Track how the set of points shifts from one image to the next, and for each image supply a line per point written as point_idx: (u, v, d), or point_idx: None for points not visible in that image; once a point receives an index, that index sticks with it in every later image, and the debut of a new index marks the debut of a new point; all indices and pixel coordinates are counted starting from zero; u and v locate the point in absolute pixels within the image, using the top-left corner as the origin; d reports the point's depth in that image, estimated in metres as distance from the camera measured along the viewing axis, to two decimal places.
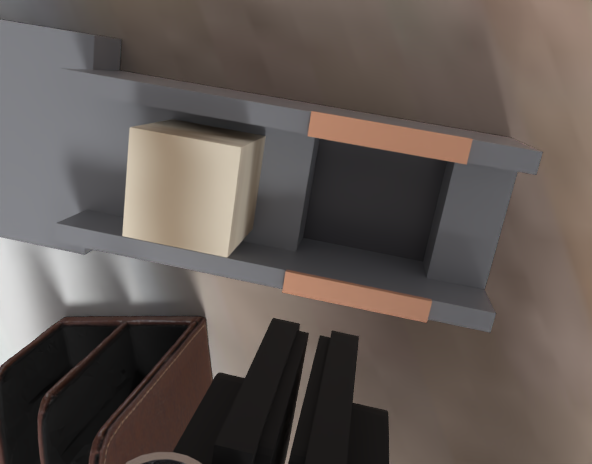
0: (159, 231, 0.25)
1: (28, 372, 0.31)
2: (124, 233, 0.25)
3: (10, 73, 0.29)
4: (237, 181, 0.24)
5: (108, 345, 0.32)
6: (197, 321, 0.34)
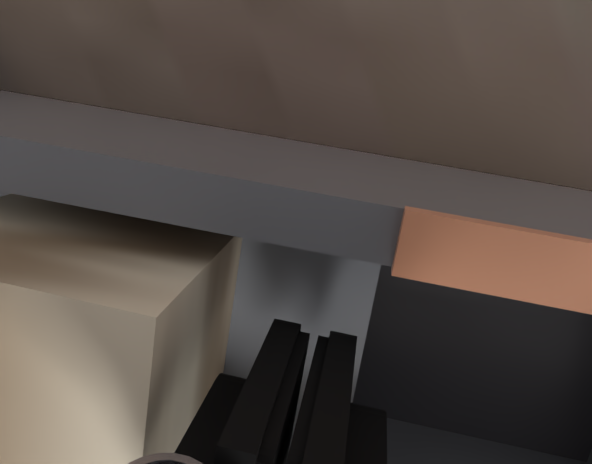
0: None
1: None
2: None
3: None
4: (150, 403, 0.08)
5: None
6: None
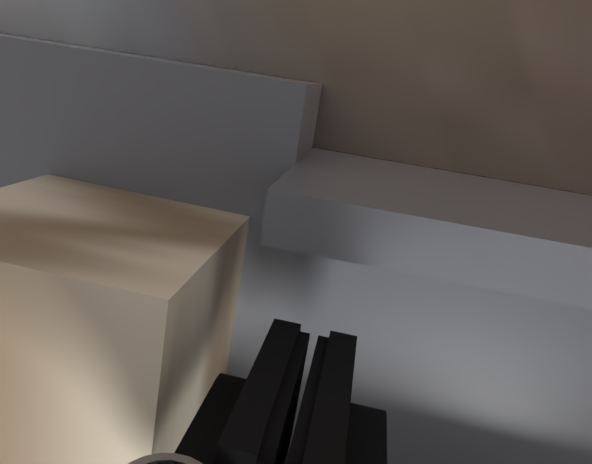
0: None
1: None
2: None
3: (96, 168, 0.13)
4: (161, 385, 0.08)
5: None
6: None
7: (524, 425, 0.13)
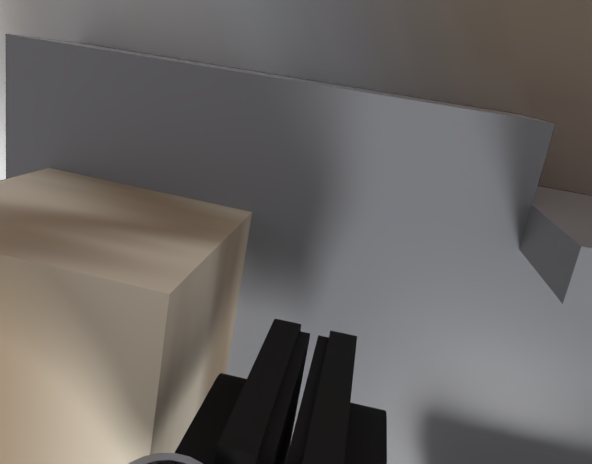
0: None
1: None
2: None
3: (308, 206, 0.12)
4: (161, 381, 0.08)
5: None
6: None
7: None
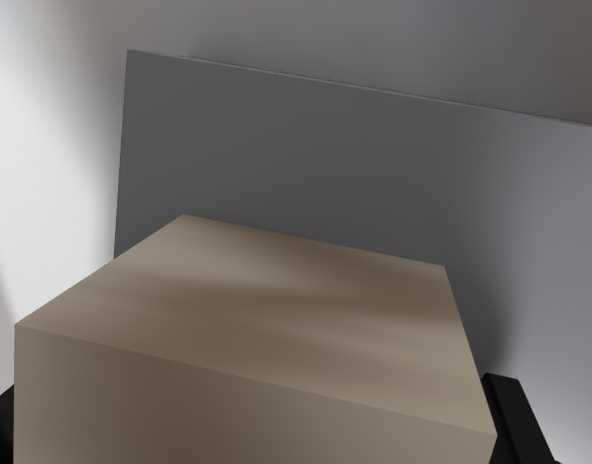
0: None
1: None
2: None
3: (502, 266, 0.10)
4: None
5: None
6: None
7: None
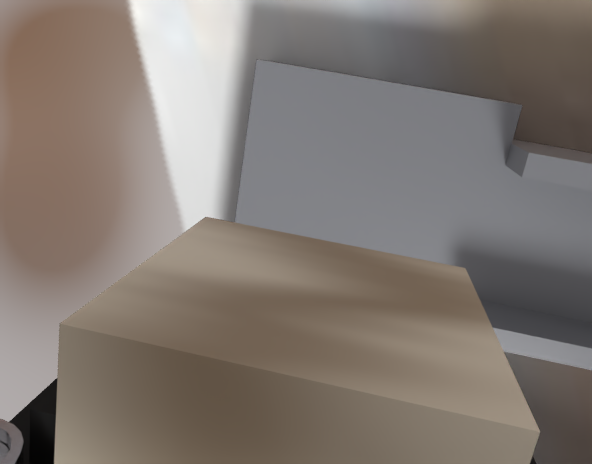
0: None
1: None
2: None
3: (403, 145, 0.25)
4: None
5: None
6: None
7: None
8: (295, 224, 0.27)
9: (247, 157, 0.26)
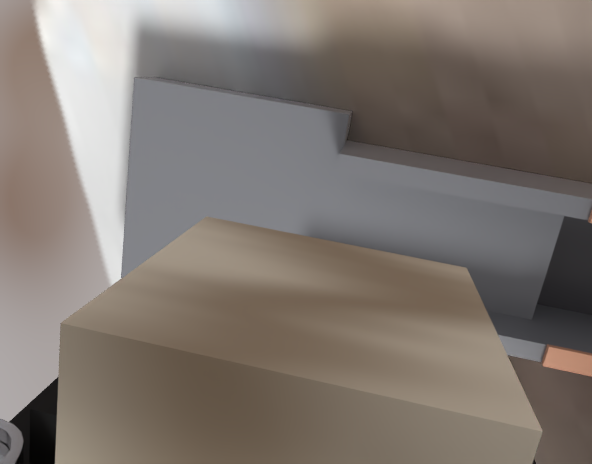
0: None
1: None
2: None
3: (257, 148, 0.30)
4: None
5: None
6: None
7: (439, 258, 0.30)
8: (174, 215, 0.32)
9: (132, 159, 0.31)
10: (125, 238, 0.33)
